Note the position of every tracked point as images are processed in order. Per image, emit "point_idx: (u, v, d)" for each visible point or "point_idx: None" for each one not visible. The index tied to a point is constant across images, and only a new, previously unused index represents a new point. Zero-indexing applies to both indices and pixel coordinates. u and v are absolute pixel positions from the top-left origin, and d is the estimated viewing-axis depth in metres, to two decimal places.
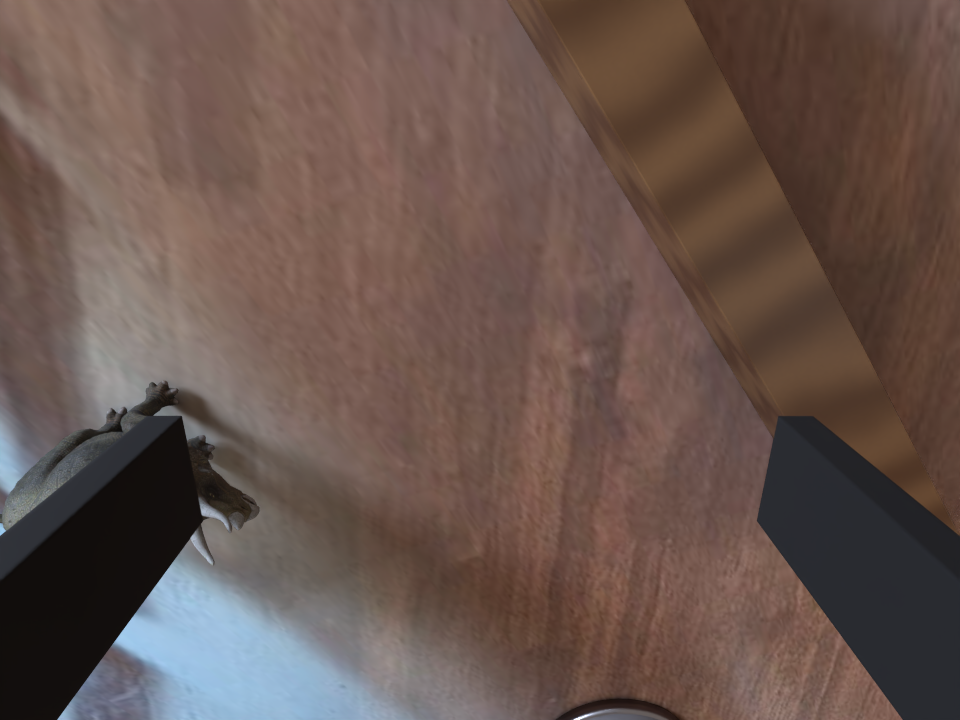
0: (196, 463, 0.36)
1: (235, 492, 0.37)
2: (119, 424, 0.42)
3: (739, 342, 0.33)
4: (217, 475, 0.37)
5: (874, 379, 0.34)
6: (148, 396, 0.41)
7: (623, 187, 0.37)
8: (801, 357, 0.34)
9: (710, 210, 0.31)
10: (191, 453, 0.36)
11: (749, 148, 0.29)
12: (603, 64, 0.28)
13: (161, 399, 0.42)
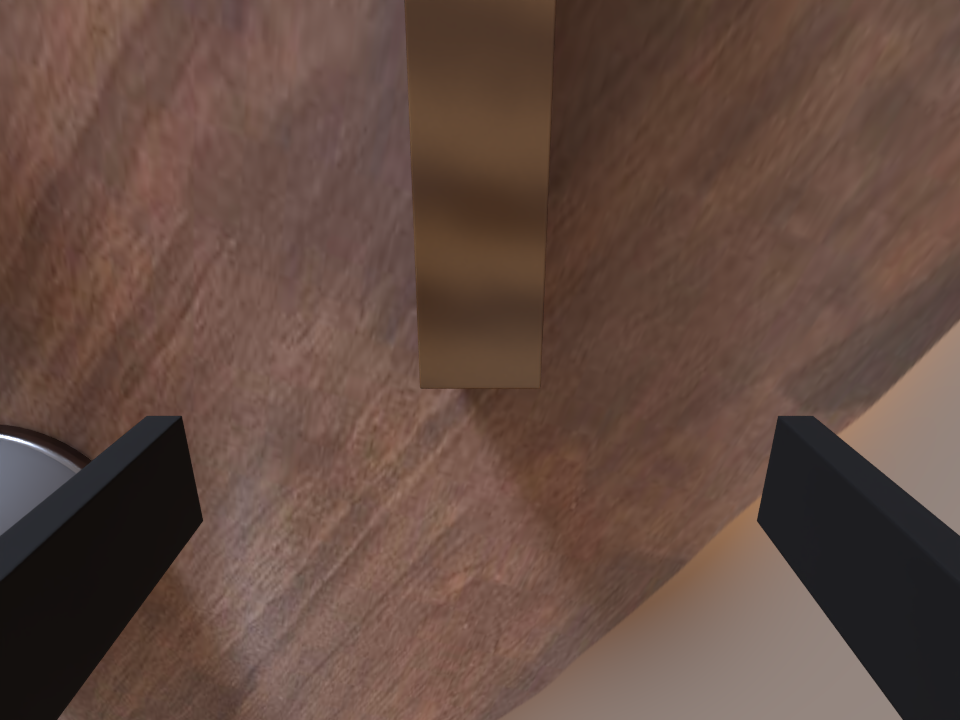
0: None
1: None
2: None
3: None
4: None
5: (548, 12, 0.22)
6: None
7: None
8: None
9: None
10: None
11: None
12: None
13: None
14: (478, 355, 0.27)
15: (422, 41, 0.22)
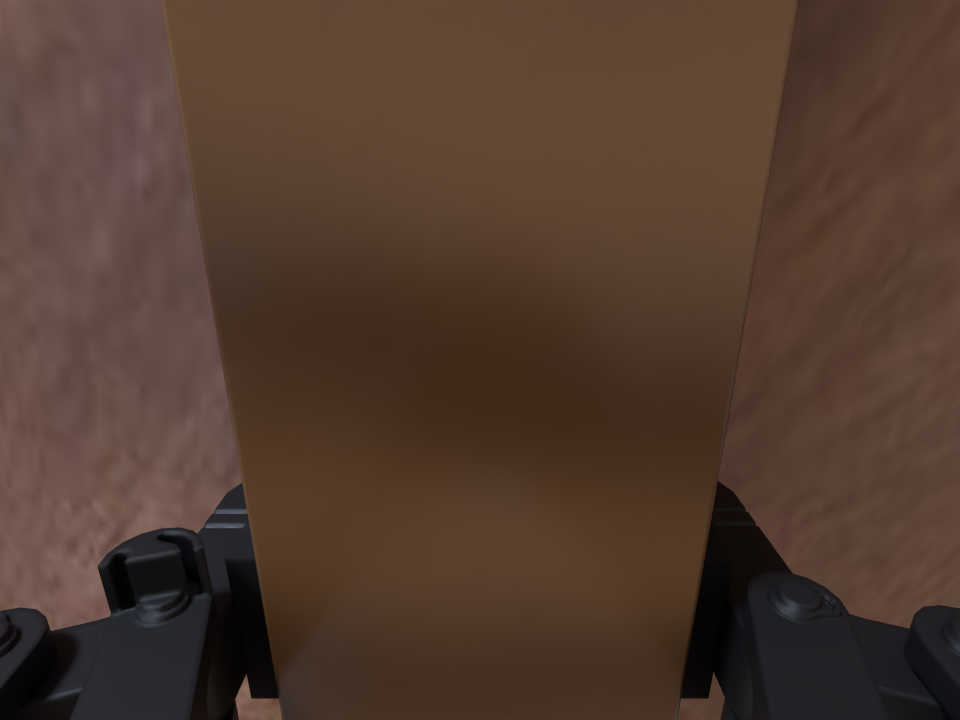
0: None
1: None
2: None
3: None
4: None
5: None
6: None
7: None
8: None
9: None
10: None
11: None
12: None
13: None
14: None
15: None
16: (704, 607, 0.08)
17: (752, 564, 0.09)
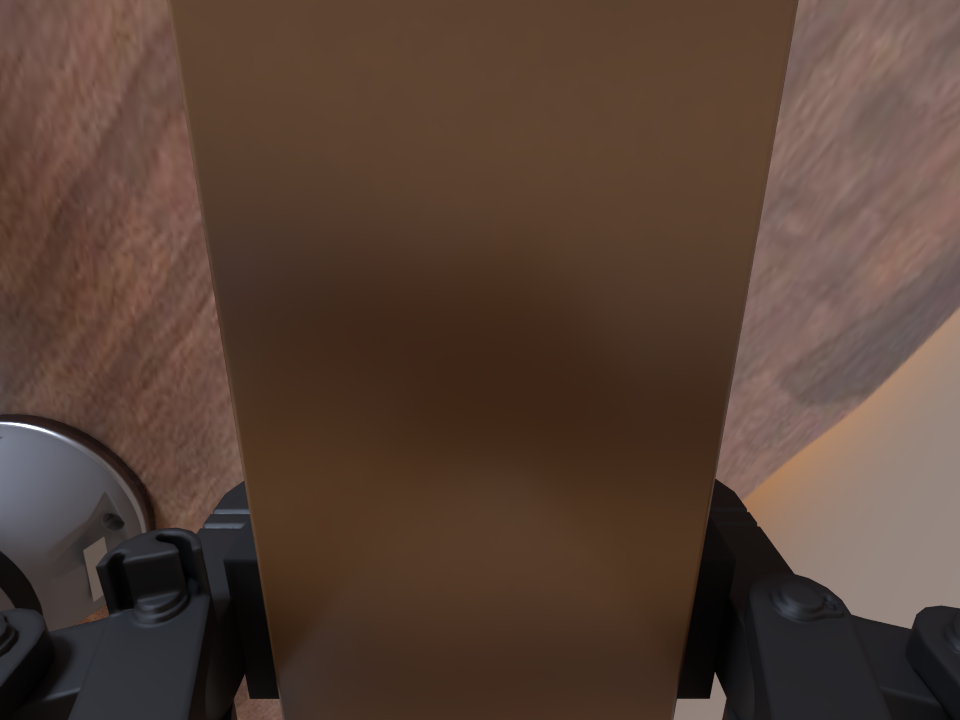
0: None
1: None
2: None
3: None
4: None
5: None
6: None
7: None
8: None
9: None
10: None
11: None
12: None
13: None
14: None
15: None
16: (706, 607, 0.08)
17: (754, 564, 0.09)
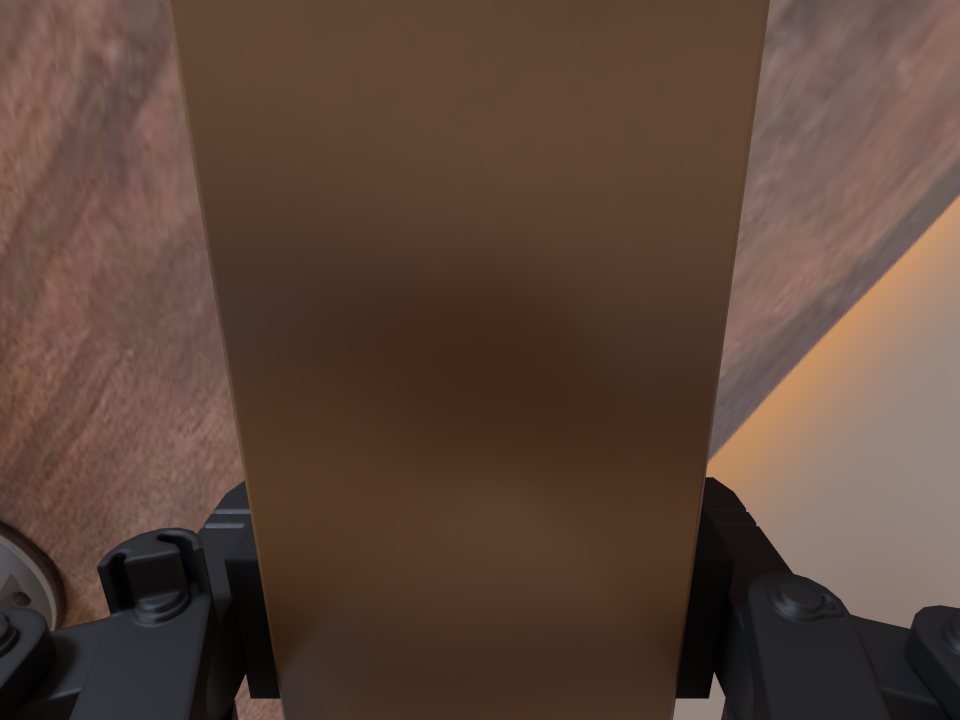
0: None
1: None
2: None
3: None
4: None
5: None
6: None
7: None
8: None
9: None
10: None
11: None
12: None
13: None
14: None
15: None
16: (705, 607, 0.08)
17: (752, 564, 0.09)
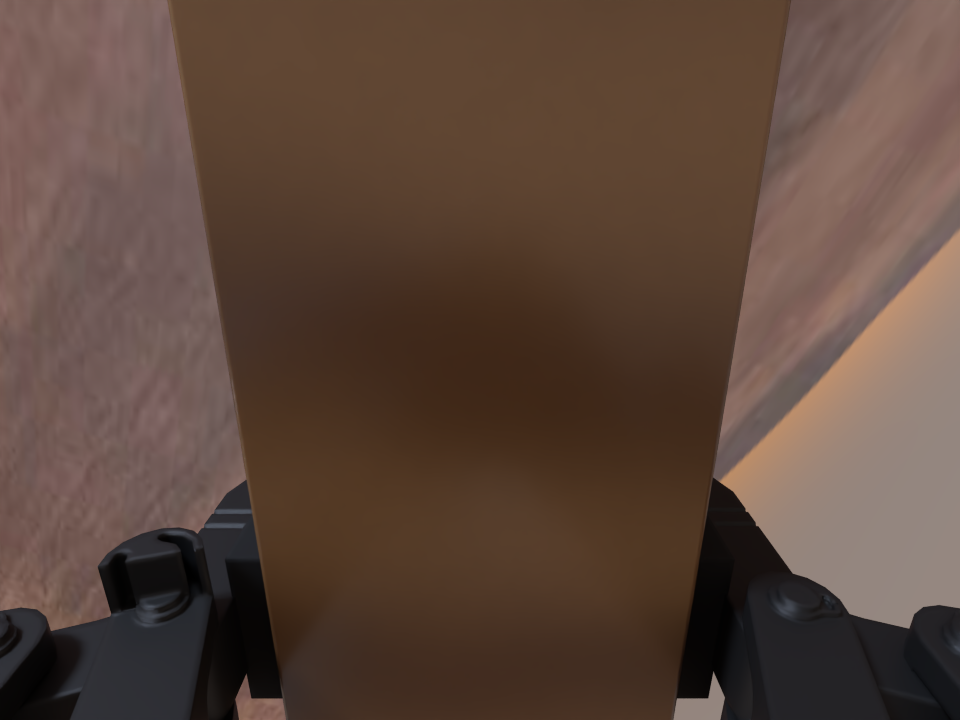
0: None
1: None
2: None
3: None
4: None
5: None
6: None
7: None
8: None
9: None
10: None
11: None
12: None
13: None
14: None
15: None
16: (704, 607, 0.08)
17: (752, 564, 0.09)
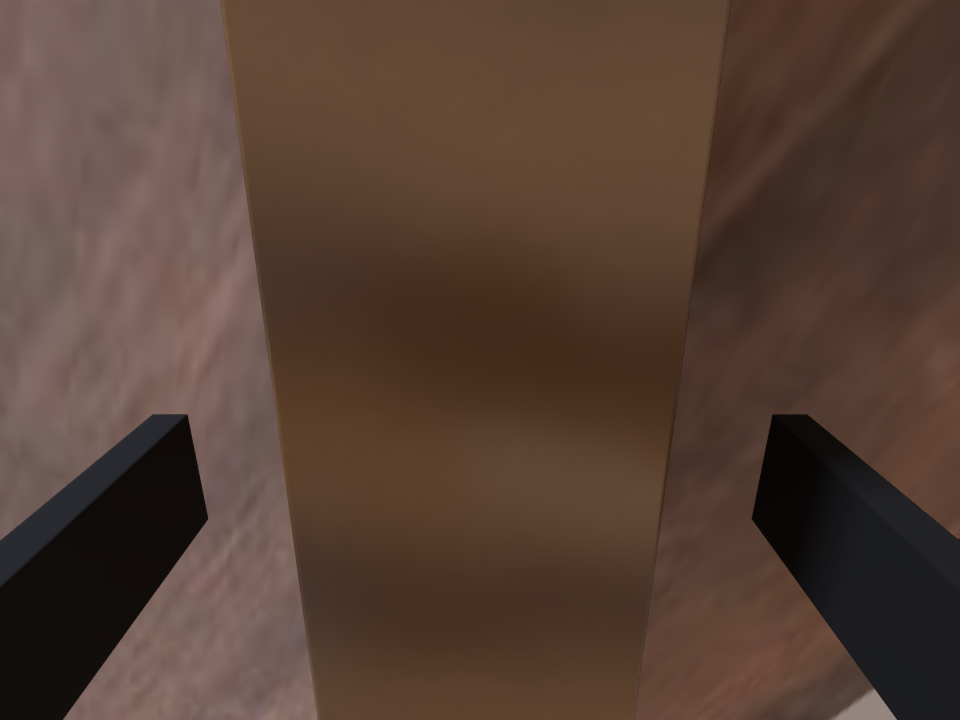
0: None
1: None
2: None
3: None
4: None
5: None
6: None
7: None
8: None
9: None
10: None
11: None
12: None
13: None
14: (469, 698, 0.10)
15: None
16: None
17: None
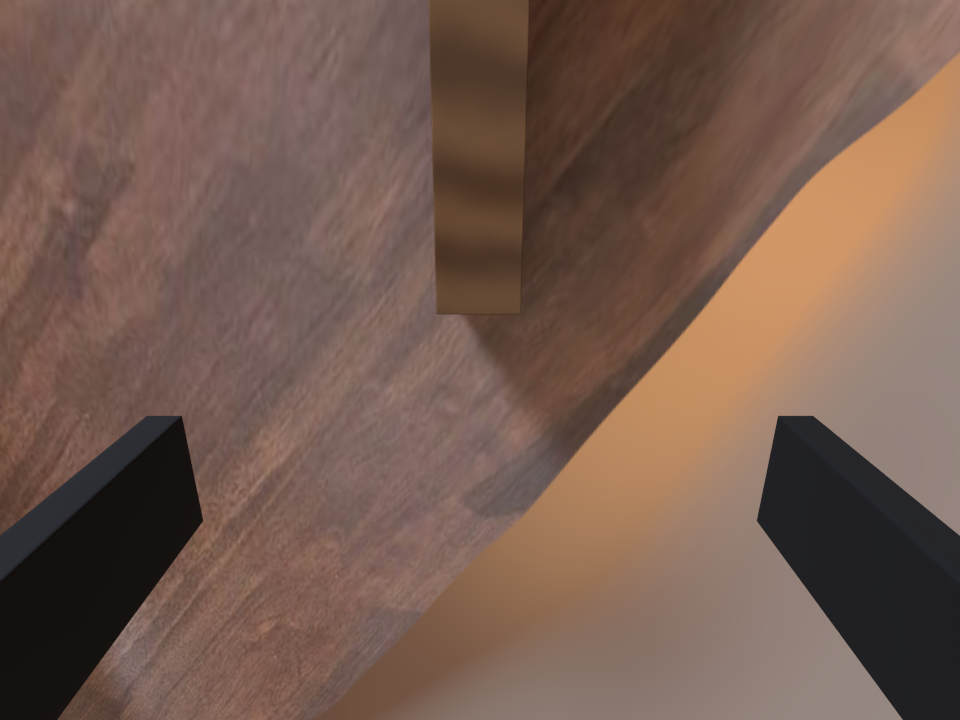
0: None
1: None
2: None
3: None
4: None
5: (523, 58, 0.33)
6: None
7: None
8: None
9: None
10: None
11: None
12: None
13: None
14: (477, 289, 0.38)
15: (441, 76, 0.34)
16: None
17: None
